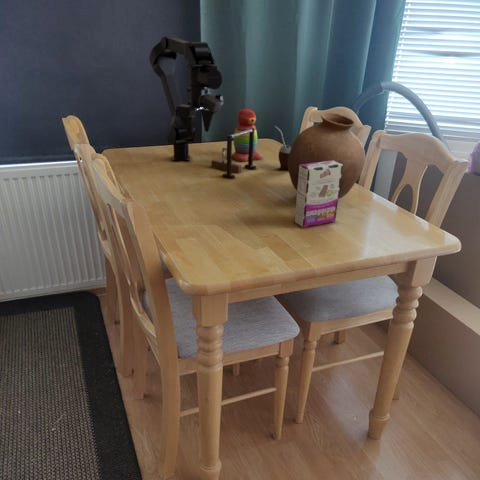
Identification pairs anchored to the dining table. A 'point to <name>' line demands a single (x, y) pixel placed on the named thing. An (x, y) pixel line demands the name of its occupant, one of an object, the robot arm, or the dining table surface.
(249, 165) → the clothes rail
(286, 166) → the mate gourd
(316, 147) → the pottery
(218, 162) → the hanger
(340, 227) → the dining table surface
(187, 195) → the dining table surface
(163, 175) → the dining table surface
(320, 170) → the candy bar box
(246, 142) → the stacking bear
